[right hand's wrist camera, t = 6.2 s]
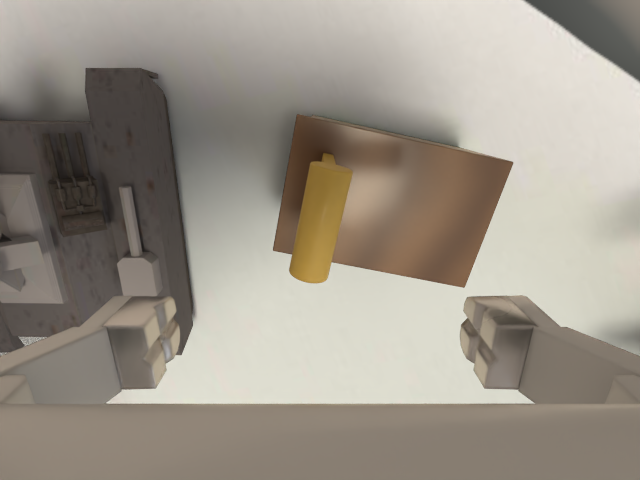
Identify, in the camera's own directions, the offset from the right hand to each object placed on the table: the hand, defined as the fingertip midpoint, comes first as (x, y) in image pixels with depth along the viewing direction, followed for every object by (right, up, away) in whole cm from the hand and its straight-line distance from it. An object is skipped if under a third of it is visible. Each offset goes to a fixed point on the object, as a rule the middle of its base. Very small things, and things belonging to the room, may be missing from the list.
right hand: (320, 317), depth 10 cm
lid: (+5, +5, +16) cm, 17 cm away
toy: (-23, +5, +25) cm, 35 cm away
